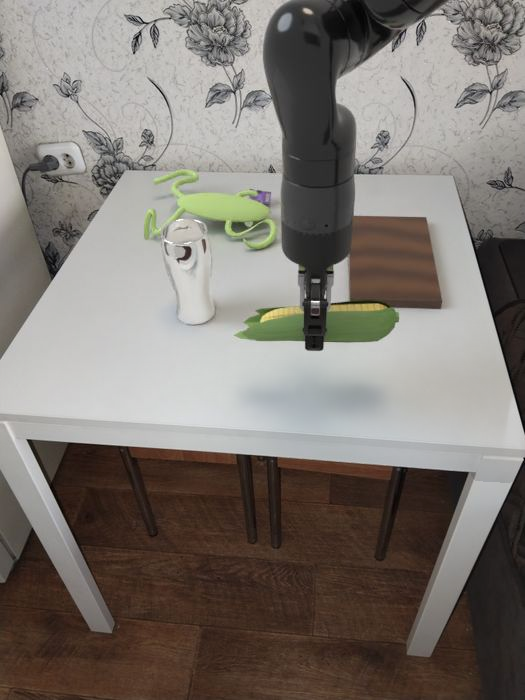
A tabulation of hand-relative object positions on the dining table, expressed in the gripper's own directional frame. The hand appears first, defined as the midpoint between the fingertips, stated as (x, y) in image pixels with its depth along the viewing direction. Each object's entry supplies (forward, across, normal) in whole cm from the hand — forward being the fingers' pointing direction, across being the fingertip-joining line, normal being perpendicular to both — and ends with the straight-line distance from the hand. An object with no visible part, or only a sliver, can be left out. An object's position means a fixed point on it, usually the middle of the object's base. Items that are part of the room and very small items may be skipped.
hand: (314, 332), depth 73 cm
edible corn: (+1, 0, 0) cm, 1 cm away
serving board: (+11, +30, -13) cm, 34 cm away
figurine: (+10, +43, +20) cm, 48 cm away
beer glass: (+11, +16, +18) cm, 27 cm away
